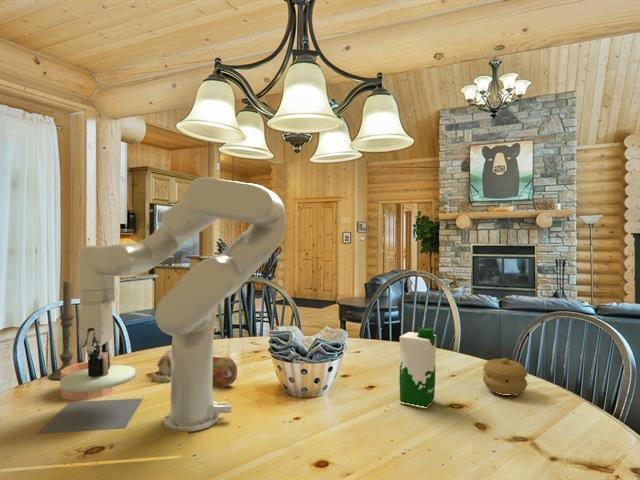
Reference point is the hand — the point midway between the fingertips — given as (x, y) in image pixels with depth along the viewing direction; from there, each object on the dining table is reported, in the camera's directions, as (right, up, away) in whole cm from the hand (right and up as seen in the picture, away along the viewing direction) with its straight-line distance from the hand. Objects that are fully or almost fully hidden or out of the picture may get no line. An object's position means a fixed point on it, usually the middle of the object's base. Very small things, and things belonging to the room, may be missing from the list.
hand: (99, 371), depth 103 cm
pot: (+106, -12, +20) cm, 109 cm away
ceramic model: (+8, -11, +30) cm, 33 cm away
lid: (0, -2, 0) cm, 2 cm away
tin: (+22, -11, +25) cm, 35 cm away
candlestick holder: (-26, -11, +30) cm, 41 cm away
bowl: (-11, -11, +16) cm, 22 cm away
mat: (-1, -11, 0) cm, 11 cm away
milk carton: (+79, -12, +12) cm, 81 cm away
